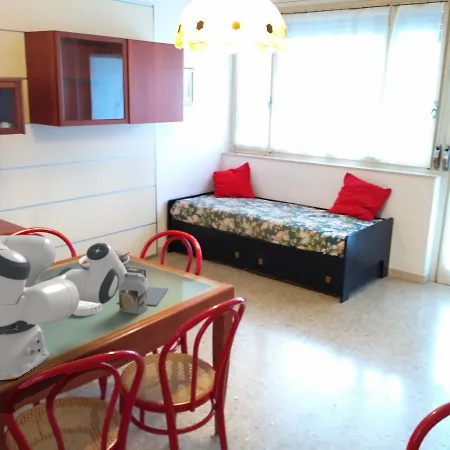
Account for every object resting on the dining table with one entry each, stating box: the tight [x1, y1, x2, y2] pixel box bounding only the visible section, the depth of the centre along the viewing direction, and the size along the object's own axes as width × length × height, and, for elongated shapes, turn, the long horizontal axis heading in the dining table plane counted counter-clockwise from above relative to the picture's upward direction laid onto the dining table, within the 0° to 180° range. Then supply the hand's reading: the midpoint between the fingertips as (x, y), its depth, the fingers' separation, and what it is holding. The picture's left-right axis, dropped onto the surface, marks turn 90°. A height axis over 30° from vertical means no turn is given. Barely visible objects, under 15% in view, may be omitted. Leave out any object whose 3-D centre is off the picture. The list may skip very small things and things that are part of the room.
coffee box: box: [118, 266, 148, 316], centre depth 196 cm, size 9×6×16 cm
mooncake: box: [72, 300, 103, 317], centre depth 198 cm, size 12×12×4 cm
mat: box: [116, 286, 169, 307], centre depth 211 cm, size 18×16×1 cm
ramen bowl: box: [78, 251, 131, 271], centre depth 235 cm, size 25×23×8 cm
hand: (124, 291), depth 184 cm, fingers closed
